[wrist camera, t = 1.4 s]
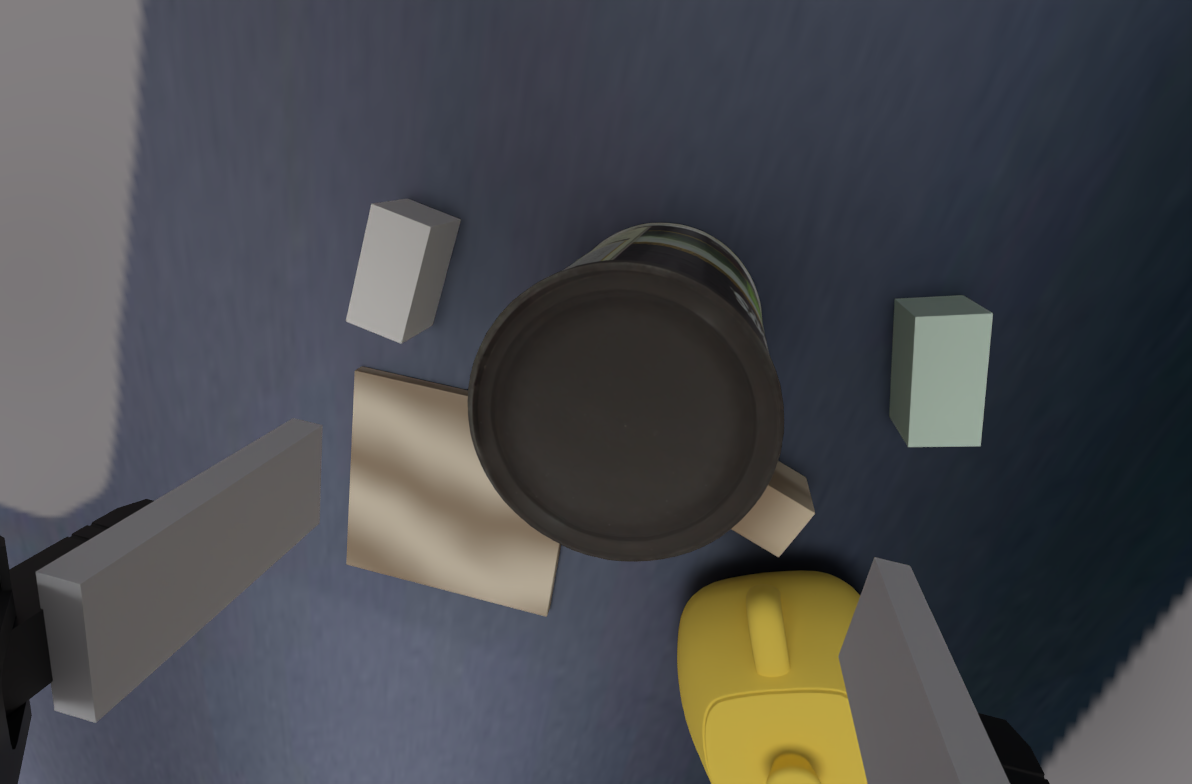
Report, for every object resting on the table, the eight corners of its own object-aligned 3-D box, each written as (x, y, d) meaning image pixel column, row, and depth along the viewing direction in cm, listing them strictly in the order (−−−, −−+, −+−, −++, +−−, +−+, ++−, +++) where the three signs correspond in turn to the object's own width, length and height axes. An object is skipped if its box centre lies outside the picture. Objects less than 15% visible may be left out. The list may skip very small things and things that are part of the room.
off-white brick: (408, 198, 35) (371, 203, 32) (461, 219, 35) (431, 227, 31) (383, 304, 37) (345, 321, 34) (433, 324, 37) (401, 343, 34)
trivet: (361, 366, 39) (354, 370, 38) (583, 416, 37) (580, 421, 37) (352, 557, 43) (346, 564, 43) (549, 608, 42) (546, 616, 41)
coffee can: (760, 211, 32) (783, 250, 19) (763, 414, 36) (786, 566, 22) (550, 228, 34) (442, 274, 21) (571, 419, 38) (489, 561, 24)
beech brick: (679, 461, 37) (675, 495, 34) (709, 418, 36) (708, 449, 33) (773, 517, 38) (778, 557, 34) (806, 476, 36) (815, 513, 33)
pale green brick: (894, 298, 33) (915, 316, 29) (962, 294, 32) (993, 313, 28) (888, 415, 35) (908, 447, 31) (952, 414, 34) (980, 446, 30)
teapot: (897, 759, 41) (951, 953, 31) (714, 766, 44) (711, 947, 34) (857, 494, 36) (908, 625, 26) (654, 521, 39) (630, 648, 29)
